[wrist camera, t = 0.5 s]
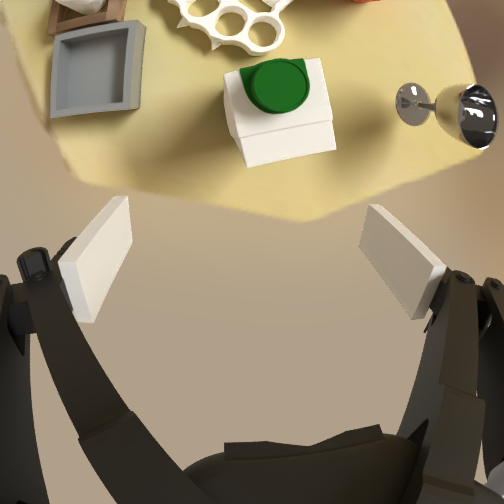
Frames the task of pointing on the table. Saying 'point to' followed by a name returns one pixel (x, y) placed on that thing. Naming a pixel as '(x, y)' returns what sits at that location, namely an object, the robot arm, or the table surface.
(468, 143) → the wine glass
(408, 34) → the table surface
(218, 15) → the white brass knuckles
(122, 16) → the holder
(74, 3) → the white tall rounded piece
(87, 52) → the tray
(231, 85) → the milk carton
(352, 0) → the flower pot
